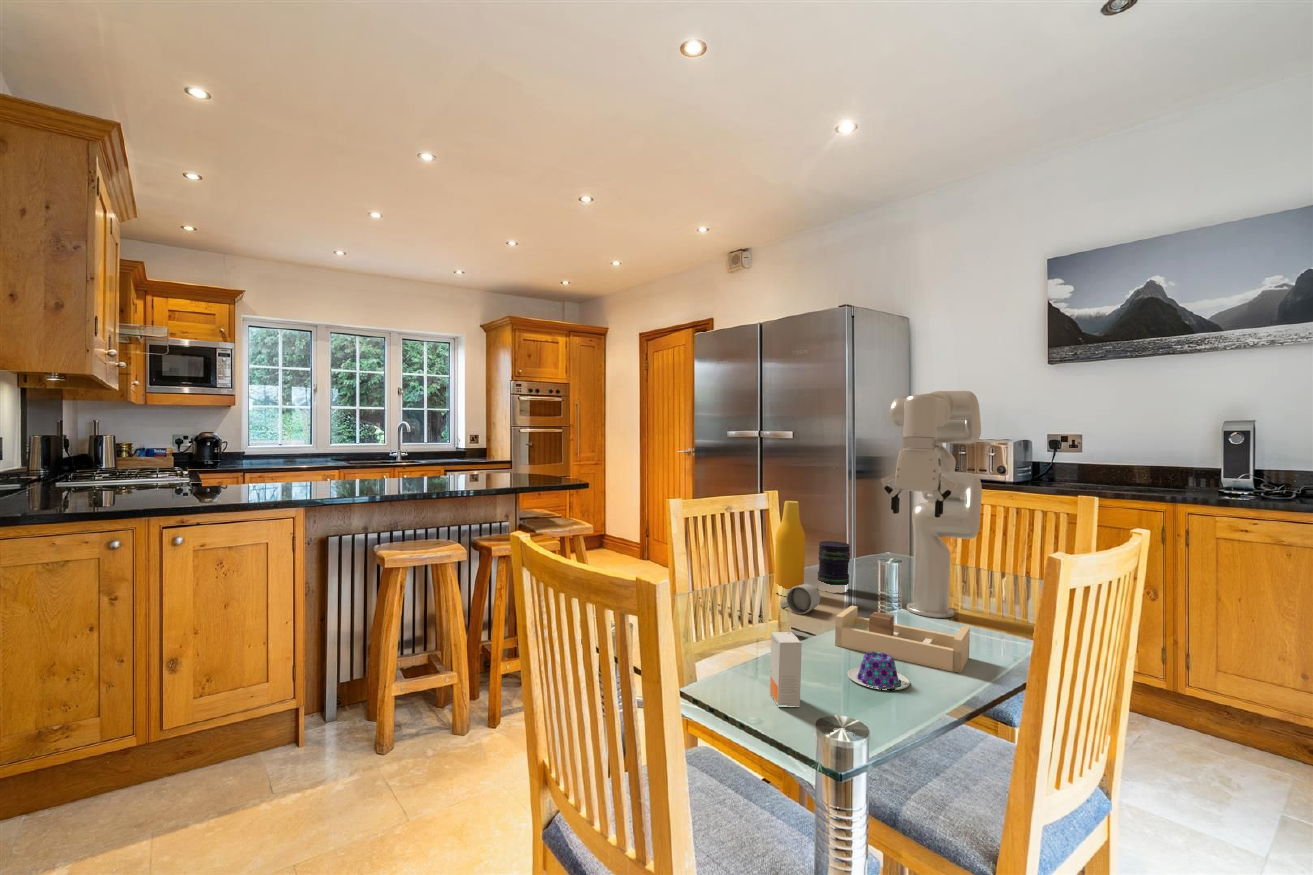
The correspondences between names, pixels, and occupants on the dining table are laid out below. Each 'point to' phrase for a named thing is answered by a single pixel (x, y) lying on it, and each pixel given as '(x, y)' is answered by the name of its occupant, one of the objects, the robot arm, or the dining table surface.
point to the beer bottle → (790, 548)
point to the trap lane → (904, 642)
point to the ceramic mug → (802, 599)
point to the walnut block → (881, 623)
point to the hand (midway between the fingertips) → (916, 515)
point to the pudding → (877, 671)
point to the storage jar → (833, 562)
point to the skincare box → (785, 668)
